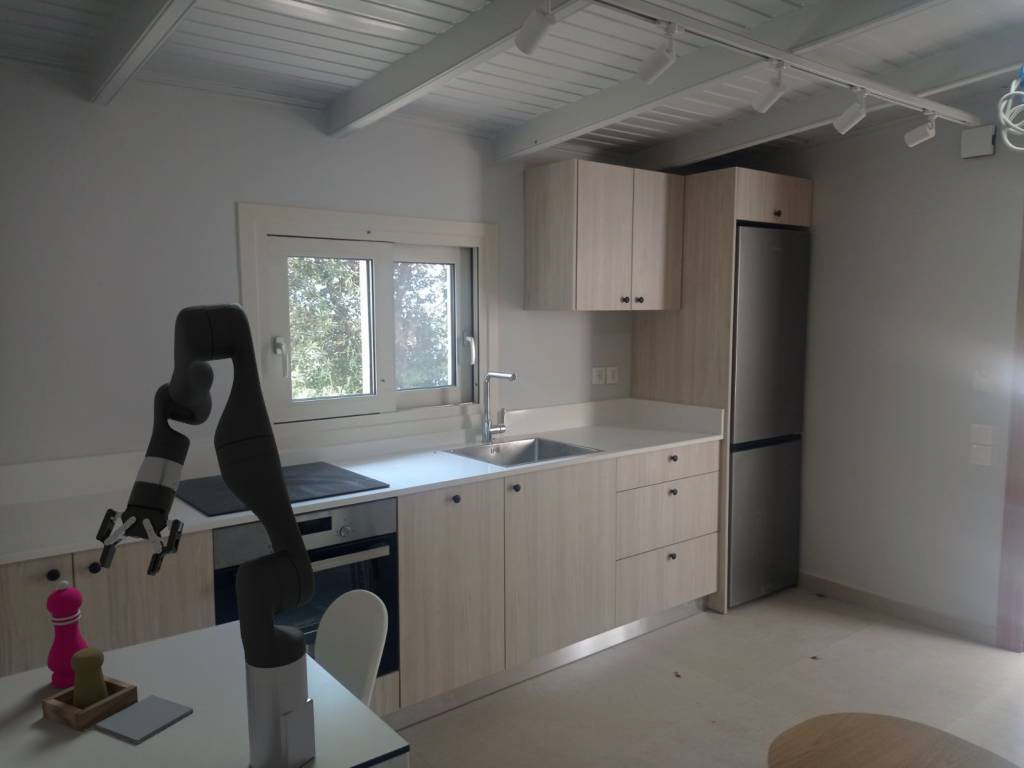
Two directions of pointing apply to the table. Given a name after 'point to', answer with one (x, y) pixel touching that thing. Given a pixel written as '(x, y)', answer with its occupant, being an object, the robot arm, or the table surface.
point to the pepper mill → (64, 633)
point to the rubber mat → (144, 718)
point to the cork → (88, 677)
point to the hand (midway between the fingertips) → (127, 571)
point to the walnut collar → (78, 719)
